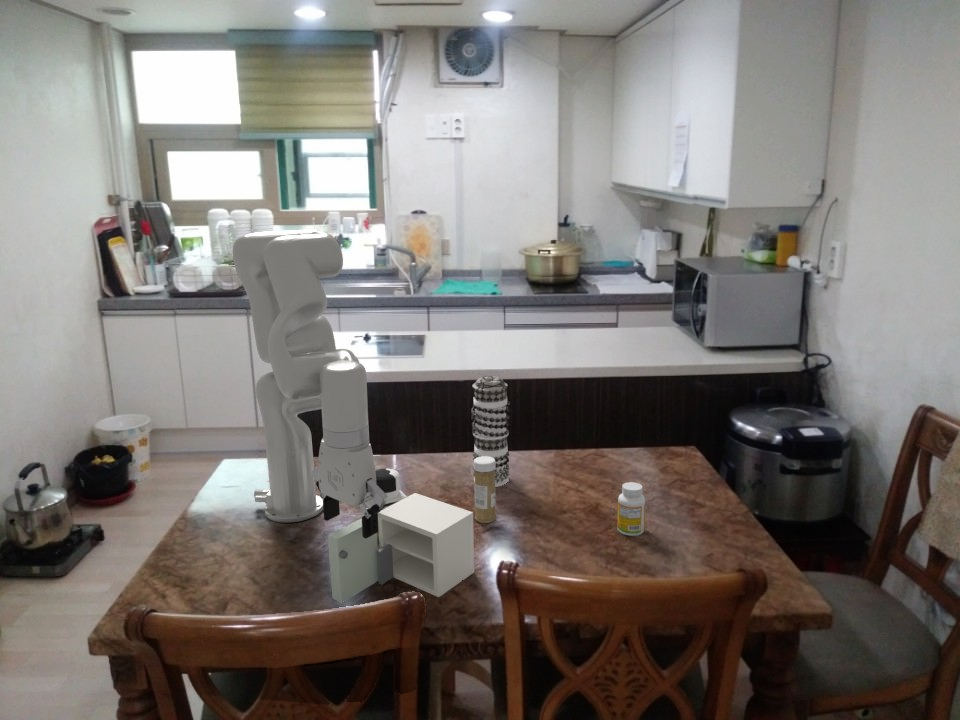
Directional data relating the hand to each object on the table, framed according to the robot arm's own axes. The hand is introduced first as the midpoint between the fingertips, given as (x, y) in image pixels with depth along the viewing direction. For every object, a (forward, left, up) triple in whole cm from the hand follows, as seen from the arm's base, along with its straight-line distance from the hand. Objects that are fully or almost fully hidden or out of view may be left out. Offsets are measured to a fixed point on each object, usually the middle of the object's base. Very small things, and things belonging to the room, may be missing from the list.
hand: (350, 526), depth 127 cm
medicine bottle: (0, +23, -12) cm, 26 cm away
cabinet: (+10, +5, -12) cm, 17 cm away
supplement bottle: (+50, +26, -12) cm, 58 cm away
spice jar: (+20, +28, -12) cm, 36 cm away
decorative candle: (+19, +48, -12) cm, 53 cm away
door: (0, -1, -12) cm, 12 cm away
